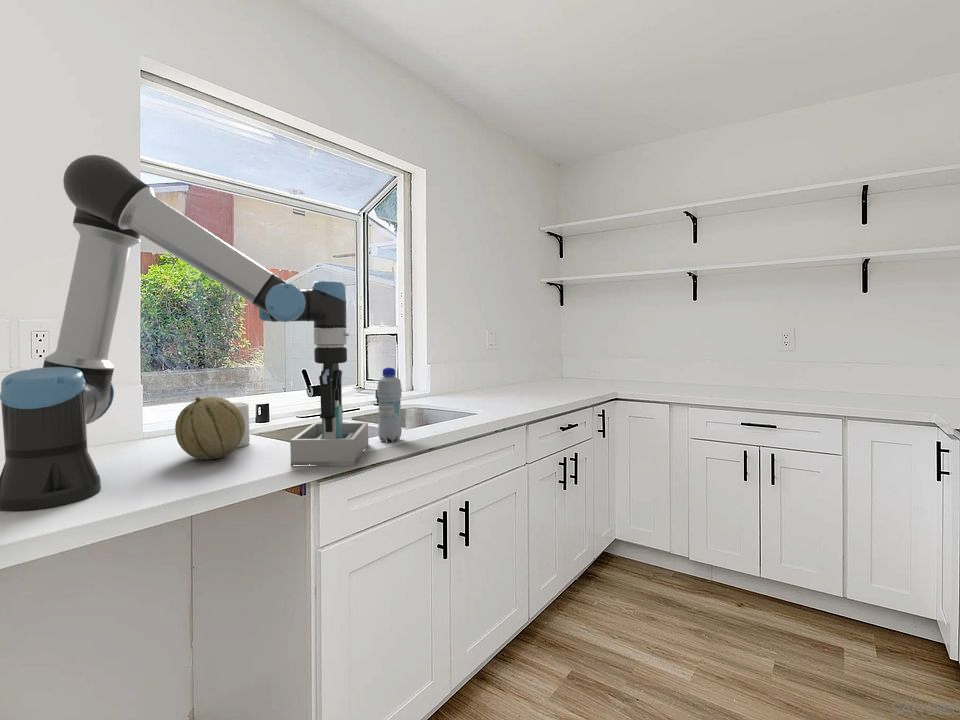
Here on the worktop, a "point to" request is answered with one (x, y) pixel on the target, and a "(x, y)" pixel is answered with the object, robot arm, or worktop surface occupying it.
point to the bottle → (389, 406)
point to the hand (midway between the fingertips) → (332, 442)
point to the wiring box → (329, 446)
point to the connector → (338, 421)
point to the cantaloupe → (209, 428)
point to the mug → (245, 412)
